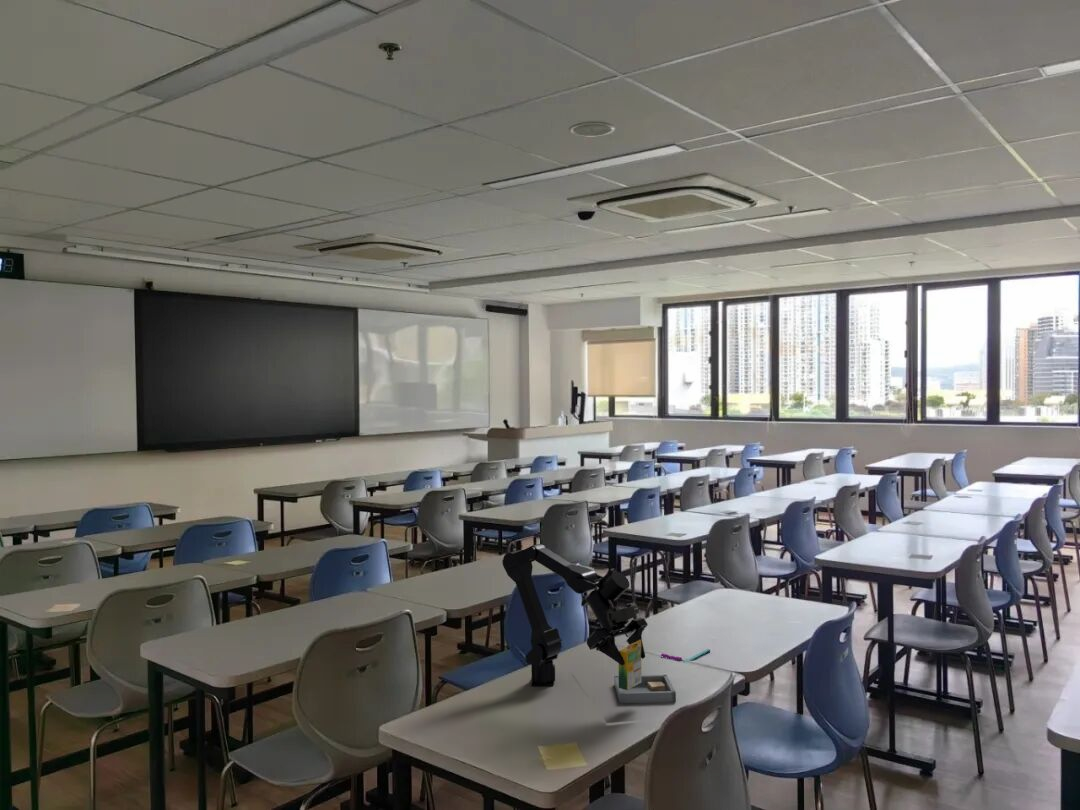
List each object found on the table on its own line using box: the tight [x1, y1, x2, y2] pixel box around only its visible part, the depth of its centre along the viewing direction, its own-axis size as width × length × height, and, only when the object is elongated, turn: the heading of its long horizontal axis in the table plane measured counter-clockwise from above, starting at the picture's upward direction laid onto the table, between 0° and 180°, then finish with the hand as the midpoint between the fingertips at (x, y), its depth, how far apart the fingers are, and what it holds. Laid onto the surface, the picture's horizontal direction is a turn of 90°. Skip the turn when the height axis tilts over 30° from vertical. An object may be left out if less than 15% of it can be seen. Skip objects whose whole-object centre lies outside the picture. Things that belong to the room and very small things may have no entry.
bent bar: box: [660, 648, 711, 664], centre depth 249 cm, size 29×2×10 cm
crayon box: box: [618, 640, 642, 690], centre depth 210 cm, size 7×3×12 cm, turn 142°
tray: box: [613, 674, 677, 704], centre depth 220 cm, size 15×14×3 cm
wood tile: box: [647, 681, 666, 691], centre depth 223 cm, size 4×4×1 cm
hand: (633, 661), depth 209 cm, fingers closed on crayon box, 7 cm apart
